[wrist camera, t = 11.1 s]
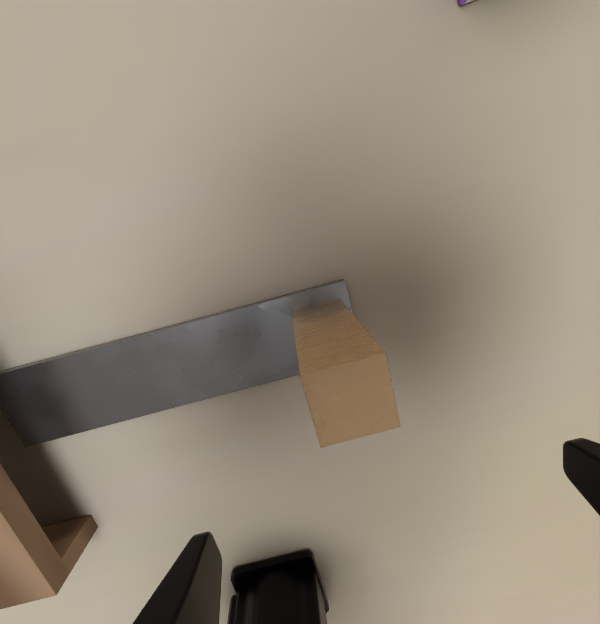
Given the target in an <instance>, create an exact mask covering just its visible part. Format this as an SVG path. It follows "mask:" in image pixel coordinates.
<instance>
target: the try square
mask: <svg viewBox="0 0 600 624" xmlns="http://www.w3.org/2000/svg"><path fill="white" fill-rule="evenodd" d="M298 374H300V377H301V381H302V384H303V387H304V391H305V394H306V398H307V401H308V405H309V408H310V412H311V415H312V419H313V422H314V425H315V429H316V432H317V436H318V439H319V443H320V446H321V447H325V446H329V445H333V444H336V443H340V442H344V441H348V440H351V439H355V438H359V437H363V436H367V435H370V434H374V433H378V432H382V431H386V430H389V429H393V428H397V427H400V422H399V417H398V412H397V406H396V401H395V396H394V391H393V386H392V381H391V376H390V371H389V366H388V360H387V355H386V353H385V351H384V350H383V349H382V348H381V347H380V345H379V344H378V343H377V342H376V341H375V339H374V338H373V337H372V336H371V335H370V334H369V332H368V331H367V330H366V329H365V328H364V326H363V325H362V324H361V323H360V322H359V320H358V319H357V318H356V317H355V316H354V315H353V313H352V309H351V304H350V300H349V295H348V291H347V286H346V282H345V280H344V279H342V280H338V281H335V282H331V283H327V284H324V285H320V286H316V287H312V288H309V289H305V290H301V291H298V292H294V293H290V294H286V295H283V296H279V297H275V298H272V299H268V300H264V301H260V302H257V303H253V304H249V305H246V306H242V307H238V308H234V309H231V310H227V311H223V312H220V313H216V314H212V315H208V316H205V317H201V318H197V319H194V320H190V321H186V322H182V323H179V324H175V325H171V326H168V327H164V328H160V329H156V330H153V331H149V332H145V333H142V334H138V335H134V336H130V337H127V338H123V339H119V340H116V341H112V342H108V343H104V344H101V345H97V346H93V347H90V348H86V349H82V350H78V351H75V352H71V353H67V354H64V355H60V356H56V357H52V358H49V359H45V360H41V361H38V362H34V363H30V364H26V365H23V366H19V367H15V368H12V369H8V370H4V371H0V407H1V409H2V410H3V412H4V414H5V415H6V417H7V419H8V420H9V422H10V423H11V425H12V427H13V428H14V430H15V431H16V433H17V435H18V436H19V438H20V440H21V441H22V443H23V444H24V446H25V447H28V446H32V445H35V444H39V443H43V442H47V441H50V440H54V439H58V438H62V437H65V436H69V435H73V434H77V433H80V432H84V431H88V430H92V429H95V428H99V427H103V426H107V425H110V424H114V423H118V422H122V421H125V420H129V419H133V418H137V417H140V416H144V415H148V414H152V413H155V412H159V411H163V410H167V409H170V408H174V407H178V406H182V405H185V404H189V403H193V402H197V401H200V400H204V399H208V398H212V397H215V396H219V395H223V394H227V393H230V392H234V391H238V390H242V389H245V388H249V387H253V386H257V385H260V384H264V383H268V382H272V381H275V380H279V379H283V378H287V377H290V376H294V375H298Z"/></svg>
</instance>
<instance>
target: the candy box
mask: <svg viewBox="0 0 600 624" xmlns="http://www.w3.org/2000/svg"><path fill="white" fill-rule="evenodd" d="M471 1H474V0H459V2H460V5H464V4H466V3H469V2H471Z"/></svg>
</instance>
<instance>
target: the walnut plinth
mask: <svg viewBox="0 0 600 624" xmlns="http://www.w3.org/2000/svg"><path fill="white" fill-rule="evenodd" d="M97 528H98V527H97V526H96V524H95V522H94V520H93V519H92V517H91V515H88V516H85V517H81V518H77V519H73V520H69V521H65V522H61V523H57V524H53V525H49V526H45V527H40V525H39V523H38V522H37V520H36V519H35V517H34V516H33V514H32V512H31V511H30V509H29V508H28V506H27V505H26V503H25V501H24V500H23V498H22V497H21V495H20V494H19V492H18V490H17V489H16V487H15V486H14V484H13V483H12V481H11V479H10V478H9V476H8V475H7V473H6V472H5V470H4V468H3V467H2V465H1V464H0V609H3V608H7V607H11V606H15V605H19V604H23V603H27V602H31V601H35V600H39V599H43V598H47V597H51V596H55V595H57V593H58V592H59V590H60V588H61V587H62V585H63V584H64V582H65V580H66V579H67V577H68V575H69V574H70V572H71V570H72V569H73V567H74V565H75V564H76V562H77V561H78V559H79V557H80V556H81V554H82V552H83V551H84V549H85V547H86V546H87V544H88V542H89V541H90V539H91V538H92V536H93V534H94V533H95V531H96V529H97Z"/></svg>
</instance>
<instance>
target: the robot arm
mask: <svg viewBox="0 0 600 624" xmlns="http://www.w3.org/2000/svg"><path fill="white" fill-rule="evenodd" d="M563 469H564V472H565V474H566V476H567V477H568V479H569V480H570V481H571V482H572V483H573V485H574V486H575V487H576V488H577V489H578V491H579V492H580V493H581V494H582V495H583V496H584V498H585V499H586V500H587V501H588V502H589V504H590V505H591V506H592V507H593V508H594V509H595V511H596V512H597V513H598V514H599V515H600V444H599V443H596V442H593V441H590V440H588V439H584V438H578V439H574V440H570V441H566V442H565V443H564V444H563ZM221 576H222V558H221V554H220V551H219V549H218V547H217V544H216V542H215V540H214V537H213V535H212V534H211V533H210V532H204V533H200V534H196V535H194V536H193V537H192V538H191V539H190V541H189V542H188V544H187V545H186V547H185V548H184V550H183V551H182V552H181V554H180V555H179V557H178V558H177V560H176V561H175V563H174V564H173V566H172V567H171V569H170V570H169V571H168V573H167V574H166V576H165V577H164V579H163V580H162V582H161V583H160V585H159V586H158V587H157V589H156V590H155V592H154V593H153V595H152V596H151V598H150V599H149V601H148V602H147V604H146V605H145V606H144V608H143V609H142V611H141V612H140V614H139V615H138V617H137V618H136V620H135V621H134V622H133V624H219V613H220V595H221ZM231 582H232V584H233V586H234V589H235V591H236V593H237V594H236V595H233V596H232V598H231V600H230V608H229V615H228V623H227V624H327V620H326V613H327V612H328V610H329V605H328V600H327V597H326V594H325V591H324V588H323V584H322V581H321V578H320V575H319V572H318V569H317V565H316V562H315V559H314V556H313V554H312V552H310V551H304V552H300V553H296V554H292V555H288V556H284V557H280V558H277V559H273V560H269V561H265V562H261V563H257V564H253V565H249V566H245V567H241V568H237V569H234V570H233V571H232V573H231Z"/></svg>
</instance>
